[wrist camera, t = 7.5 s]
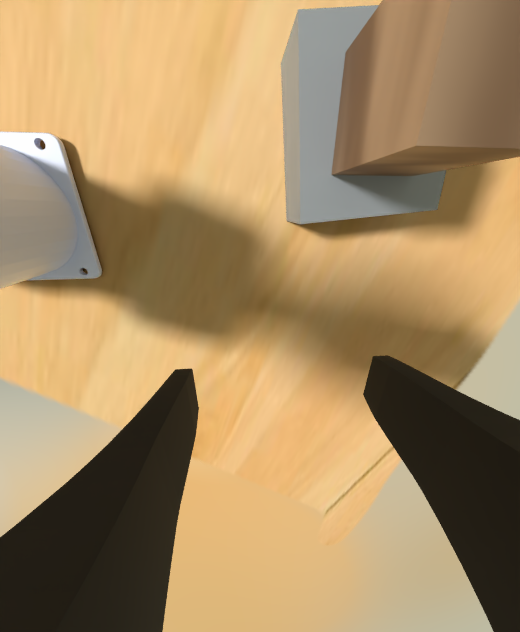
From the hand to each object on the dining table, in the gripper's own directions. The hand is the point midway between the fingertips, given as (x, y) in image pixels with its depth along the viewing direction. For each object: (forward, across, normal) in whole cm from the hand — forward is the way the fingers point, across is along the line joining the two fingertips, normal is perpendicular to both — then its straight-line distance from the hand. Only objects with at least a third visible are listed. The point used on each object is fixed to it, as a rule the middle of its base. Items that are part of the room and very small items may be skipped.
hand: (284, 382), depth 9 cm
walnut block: (+6, -6, -10) cm, 13 cm away
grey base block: (+10, -6, -10) cm, 15 cm away
